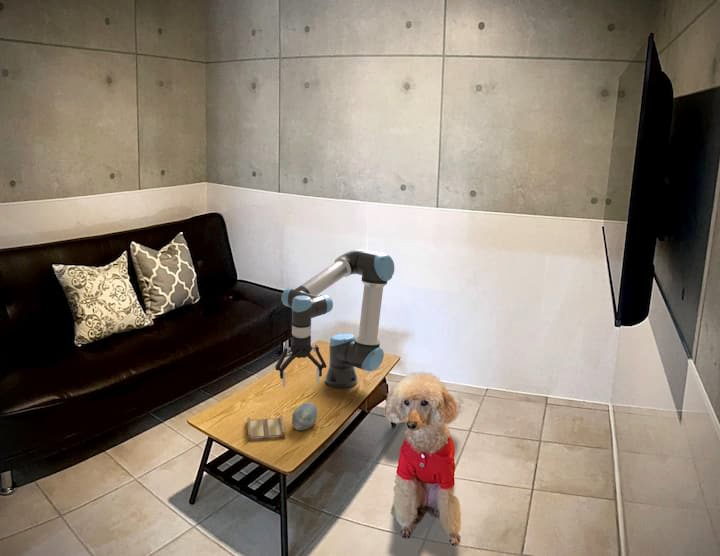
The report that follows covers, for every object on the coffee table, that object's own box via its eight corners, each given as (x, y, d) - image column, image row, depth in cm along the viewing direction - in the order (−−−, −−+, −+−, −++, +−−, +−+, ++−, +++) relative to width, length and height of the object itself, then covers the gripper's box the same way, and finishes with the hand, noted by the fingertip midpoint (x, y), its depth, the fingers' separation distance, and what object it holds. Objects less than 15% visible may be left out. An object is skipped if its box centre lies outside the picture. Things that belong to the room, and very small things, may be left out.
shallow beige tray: (281, 419, 253) (281, 414, 252) (284, 438, 239) (284, 432, 238) (247, 422, 250) (247, 416, 249) (248, 441, 236) (248, 435, 235)
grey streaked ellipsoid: (298, 406, 258) (306, 392, 252) (317, 419, 257) (325, 405, 251) (283, 428, 246) (290, 413, 241) (303, 441, 246) (311, 426, 240)
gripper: (331, 330, 247) (329, 379, 252) (268, 332, 241) (268, 382, 247) (334, 337, 240) (332, 386, 245) (270, 339, 234) (270, 390, 240)
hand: (300, 384), depth 246 cm, fingers open, 13 cm apart
